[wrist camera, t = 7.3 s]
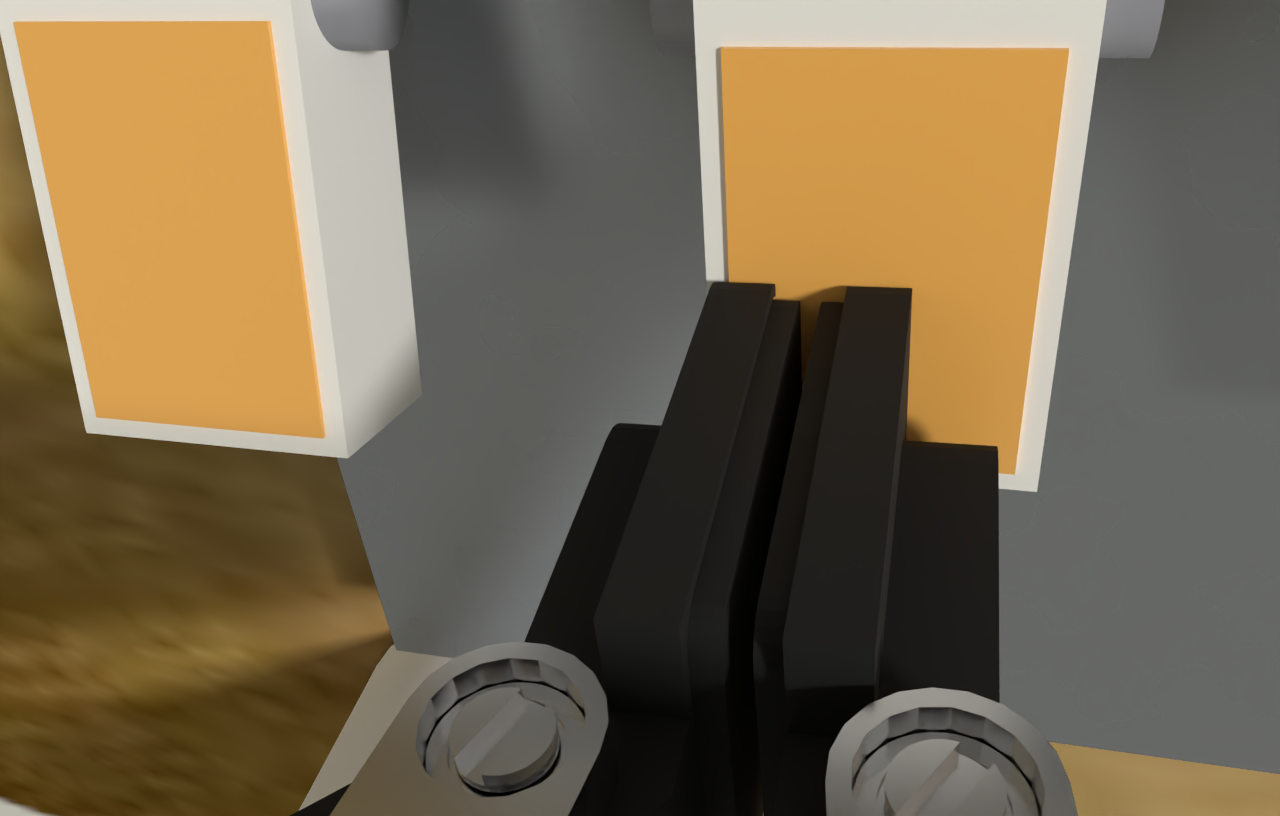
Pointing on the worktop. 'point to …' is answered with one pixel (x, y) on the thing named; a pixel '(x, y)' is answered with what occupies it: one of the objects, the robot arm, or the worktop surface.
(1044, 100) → the rocker mid
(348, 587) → the worktop surface
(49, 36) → the rocker
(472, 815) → the robot arm
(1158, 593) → the breaker panel
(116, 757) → the worktop surface
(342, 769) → the cylindrical container
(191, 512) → the worktop surface
